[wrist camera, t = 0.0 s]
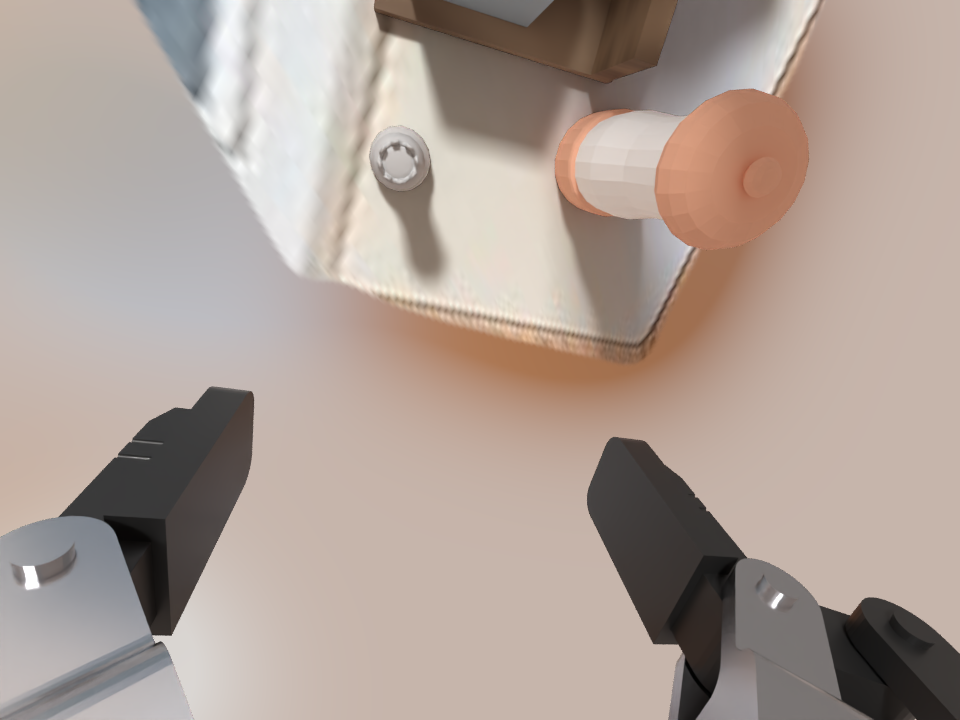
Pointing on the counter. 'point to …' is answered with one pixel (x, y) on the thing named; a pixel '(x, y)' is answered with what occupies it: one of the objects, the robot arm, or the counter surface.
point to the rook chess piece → (399, 158)
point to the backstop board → (557, 32)
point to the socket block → (507, 9)
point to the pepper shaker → (690, 166)
